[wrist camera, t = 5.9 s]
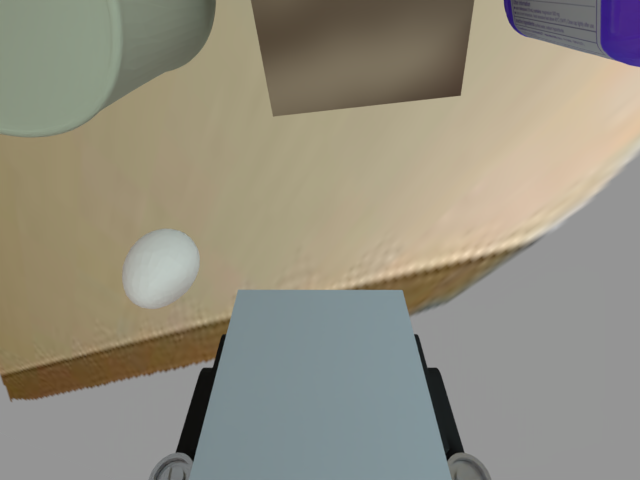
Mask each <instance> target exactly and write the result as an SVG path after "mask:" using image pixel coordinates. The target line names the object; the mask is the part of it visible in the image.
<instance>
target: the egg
mask: <svg viewBox="0 0 640 480" xmlns="http://www.w3.org/2000/svg"><path fill="white" fill-rule="evenodd" d="M199 267H200V256H199V251H198V248H197V247H196V245H195V243H194V242H193V240H192V239H191V238H190V237H189V236H188V235H186V234H185V233H183V232H181V231H179V230H174V229H159V230H155V231H152V232H150V233H147V234H146V235H144V236H143V237H141V238H140V239H139V240H138V241H137V242H136V243H135V244H134V245H133V246H132V247H131V249H130V251H129V252H128V254H127V256H126V258H125V261H124V265H123V271H122V282H123V287H124V290H125V293H126V295H127V297H128V298H129V299H130V300H131V301H132V302H133V303H134V304H136V305H137V306H139V307H142V308H147V309H158V308H161V307H164V306H167V305H169V304H171V303H173V302H174V301H176V300H177V299H179V298H180V297H181V296H182V295H183V294H185V293H186V292H187V291H188V290H189V288H190V287H191V285H192V284H193V282H194V280H195V278H196V276H197V273H198V270H199Z"/></svg>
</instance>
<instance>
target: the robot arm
mask: <svg viewBox="0 0 640 480" xmlns="http://www.w3.org/2000/svg"><path fill="white" fill-rule="evenodd" d="M414 336H415V340H416V344H417V348H418V352H419V356H420V359H421V363H422V367H423V371H424V375H425V379H426V382H427V386H428V390H429V394H430V398H431V402H432V405H433V409H434V413H435V417H436V421H437V425H438V429H439V432H440V436H441V440H442V444H443V448H444V452H445V455H446V459H447V463H448V467H449V471H450V475H451V479H452V480H491V477H490V474H489V472H488V470H487V469H486V467H485V466H484V465H483V463H482V462H480V461H479V460H478V459H477V458H476V457H474V456H472V455H470V454H467V453H465V452H464V449H463V446H462V442H461V439H460V436H459V432H458V429H457V426H456V422H455V419H454V416H453V412H452V409H451V406H450V402H449V399H448V396H447V392H446V389H445V386H444V382H443V379H442V376H441V373H440V371H439V369H438V368H427V364H426V360H425V357H424V353H423V349H422V346H421V342H420V338H419V336H418V335H417V334H414ZM225 338H226V334H223V335H222V336H221V339H220V343H219V346H218V350H217V354H216V357H215V361H214V365H213V368H202V370H201V371H200V374H199V376H198V380H197V383H196V386H195V390H194V393H193V396H192V400H191V403H190V406H189V409H188V413H187V416H186V419H185V423H184V426H183V429H182V433H181V436H180V439H179V443H178V446H177V449H176V453H173V454H170V455H168V456H166V457H164V458H163V459H162V460H161V461H160V462H158V463H157V465H156V466H155V467H154V469H153V470H152V472H151V474H150V477H149V480H189V477H190V473H191V469H192V465H193V462H194V458H195V454H196V450H197V446H198V442H199V438H200V435H201V431H202V427H203V423H204V419H205V415H206V411H207V408H208V404H209V400H210V396H211V392H212V388H213V385H214V381H215V377H216V373H217V369H218V365H219V361H220V358H221V354H222V350H223V346H224V342H225Z"/></svg>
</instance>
